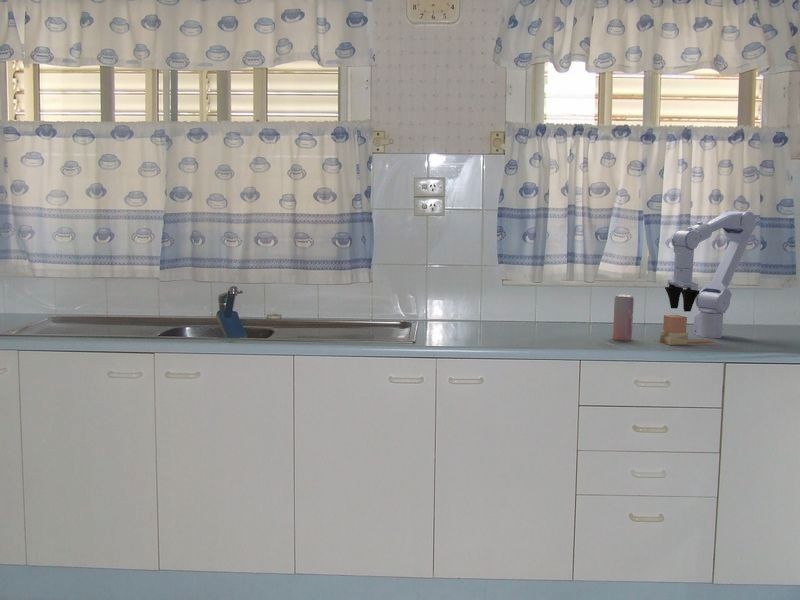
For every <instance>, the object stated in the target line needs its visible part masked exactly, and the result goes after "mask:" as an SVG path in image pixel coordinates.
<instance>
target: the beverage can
mask: <svg viewBox="0 0 800 600" xmlns="http://www.w3.org/2000/svg"><path fill="white" fill-rule="evenodd" d="M634 299H635V298H634V295H632V294H615V296H614V300H613V301H614V303H613V304H614V305H613V307H614V308H613V323H612V324H613V326H612V327H613V329H612V339H613V340H614V341H622V342H623V341H625V342H627V341H628V342H629V341H630V342H631V341H632V340H633V320H634V318H633V317H634V303H635V300H634Z"/></svg>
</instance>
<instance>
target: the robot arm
mask: <svg viewBox="0 0 800 600" xmlns="http://www.w3.org/2000/svg"><path fill="white" fill-rule="evenodd" d="M756 225H757V221H756V218H755V215H754V213H753V212H752V211H749V210H747V211H734V210H733V211H730V210H725V211H723V212H720V213H719V215H718V216H717V217H715V218H713V219H711V220H710V221H709V220H708V222H706V221H701V220H700V221H697V222H696V224H695V225H692V226H688V227H686V229H685V230H678V231H676V232H675V233H674V234H673V235H672V236H673V237H672V238H671V245H672V246H673V247H672V248H673V252H674V264H673V265H674V266H673V278H672V279H667V283H666V284H667V285H666V286H665V287H664V289H665V291H666V294H667V297H668V300H669V301H668V302H669V307H670V309H678V308H679V304H680V297H681V294H682V302H683V305H682V307H683V312H689V313H690V312H692V309H693V307H694V306H693V305H694V304H695V305H696V307H697V308H698V311H697V312H696V313H695V314H694V317H693V329H692V330H693V332H692V334H693V335H697V336H699V337H702V338H711V339H720V338H722V337H723V327H724V326H723V324H724V314H725V313H726V311H728V309H729V307H730V304H731V302H730V301H731V299H732V296H733V294H732V292H731V290H730V288H729V285H730V283H731V282H732V279H733V277H734V275H735V272H736V270H737V268H738V266H739V264H740V261H741V259H742V257H743V256H744V255H743V254H745V250H746V248H747V246H748V244H749V240H750V238H751V236H752V234H753V232H754V230H755V227H756ZM721 229H722V230H723V232H724V235H725V237H726V238H727V239H728V240H729V243H728V245H727V247H726V250H725V252H724V253H723V256H722V258H721V261H720V262H719V265H718V267H717V268H716V270H715V273H714V276H713V277H712V279H711V281H710V282H708V283H706V284H704V285H703V286H702V287H701V290H699V283H696V282H693V270H694V269H693V268H694V257H695V249H696V248H697V247H698V246H699V244H700V243H701V242H702V243H703V241H705V240H707V239H709V238H710V237H712V235H713V233H715V232H717V231H718V230H721Z"/></svg>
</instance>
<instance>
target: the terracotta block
mask: <svg viewBox="0 0 800 600" xmlns="http://www.w3.org/2000/svg"><path fill="white" fill-rule="evenodd" d="M687 323H688V317H687V316H684V315H681V314H665V315H664V314H663V325H662V326H663V328H662V329H663V331H666V332H669V333H687Z"/></svg>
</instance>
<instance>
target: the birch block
mask: <svg viewBox="0 0 800 600" xmlns="http://www.w3.org/2000/svg"><path fill="white" fill-rule="evenodd" d="M688 337H689V333H688V332H686V333H669V332H666V331H663V330H660V333H659V340H660V342H664V343H667V344H670V345H674V344H687V341H688V339H689V338H688ZM660 342H659V343H660Z"/></svg>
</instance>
